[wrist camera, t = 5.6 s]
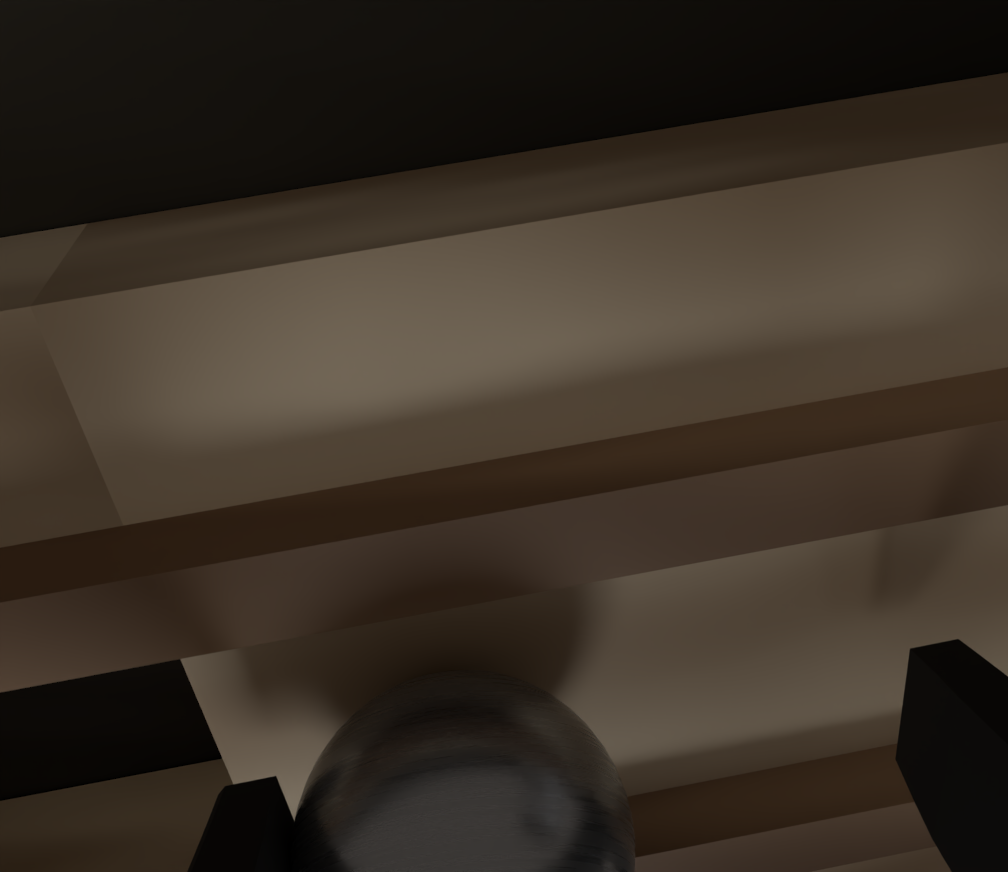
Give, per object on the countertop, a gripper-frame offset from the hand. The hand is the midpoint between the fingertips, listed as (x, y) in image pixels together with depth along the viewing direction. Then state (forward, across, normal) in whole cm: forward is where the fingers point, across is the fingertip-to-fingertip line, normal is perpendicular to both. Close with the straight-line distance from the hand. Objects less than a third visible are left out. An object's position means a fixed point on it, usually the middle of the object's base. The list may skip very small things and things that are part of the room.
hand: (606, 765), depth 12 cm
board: (+4, +3, 0) cm, 5 cm away
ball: (0, +2, 0) cm, 2 cm away
